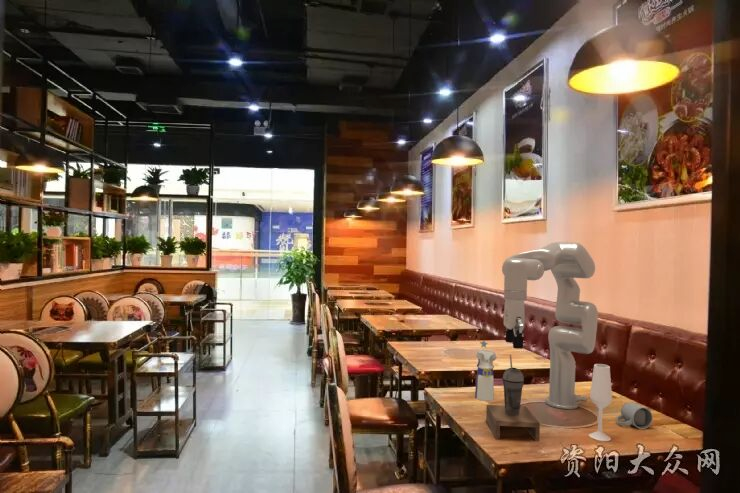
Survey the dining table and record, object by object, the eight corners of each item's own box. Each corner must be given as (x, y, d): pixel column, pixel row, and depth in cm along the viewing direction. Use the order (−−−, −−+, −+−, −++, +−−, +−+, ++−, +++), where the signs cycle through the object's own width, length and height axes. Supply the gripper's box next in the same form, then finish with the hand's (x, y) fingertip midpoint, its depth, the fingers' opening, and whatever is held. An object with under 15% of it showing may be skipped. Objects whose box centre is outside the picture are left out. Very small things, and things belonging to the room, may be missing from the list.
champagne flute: (584, 434, 162) (586, 364, 162) (598, 431, 165) (600, 362, 165) (600, 442, 156) (603, 368, 156) (615, 439, 159) (617, 367, 159)
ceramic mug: (637, 420, 177) (637, 399, 177) (652, 429, 169) (653, 407, 169) (610, 421, 176) (611, 400, 176) (625, 430, 168) (625, 408, 168)
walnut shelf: (525, 423, 171) (525, 406, 171) (539, 441, 155) (539, 422, 155) (486, 421, 172) (486, 404, 172) (495, 439, 156) (496, 420, 156)
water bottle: (497, 401, 195) (499, 340, 195) (476, 401, 195) (478, 339, 195) (492, 395, 203) (494, 336, 203) (472, 394, 203) (474, 336, 203)
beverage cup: (524, 417, 160) (526, 358, 159) (502, 415, 161) (504, 356, 161) (521, 410, 167) (523, 353, 167) (500, 408, 168) (501, 352, 168)
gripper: (498, 292, 172) (497, 339, 173) (510, 298, 155) (509, 350, 155) (519, 293, 172) (518, 340, 172) (533, 298, 155) (532, 351, 155)
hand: (514, 345), depth 164 cm, fingers open, 9 cm apart
